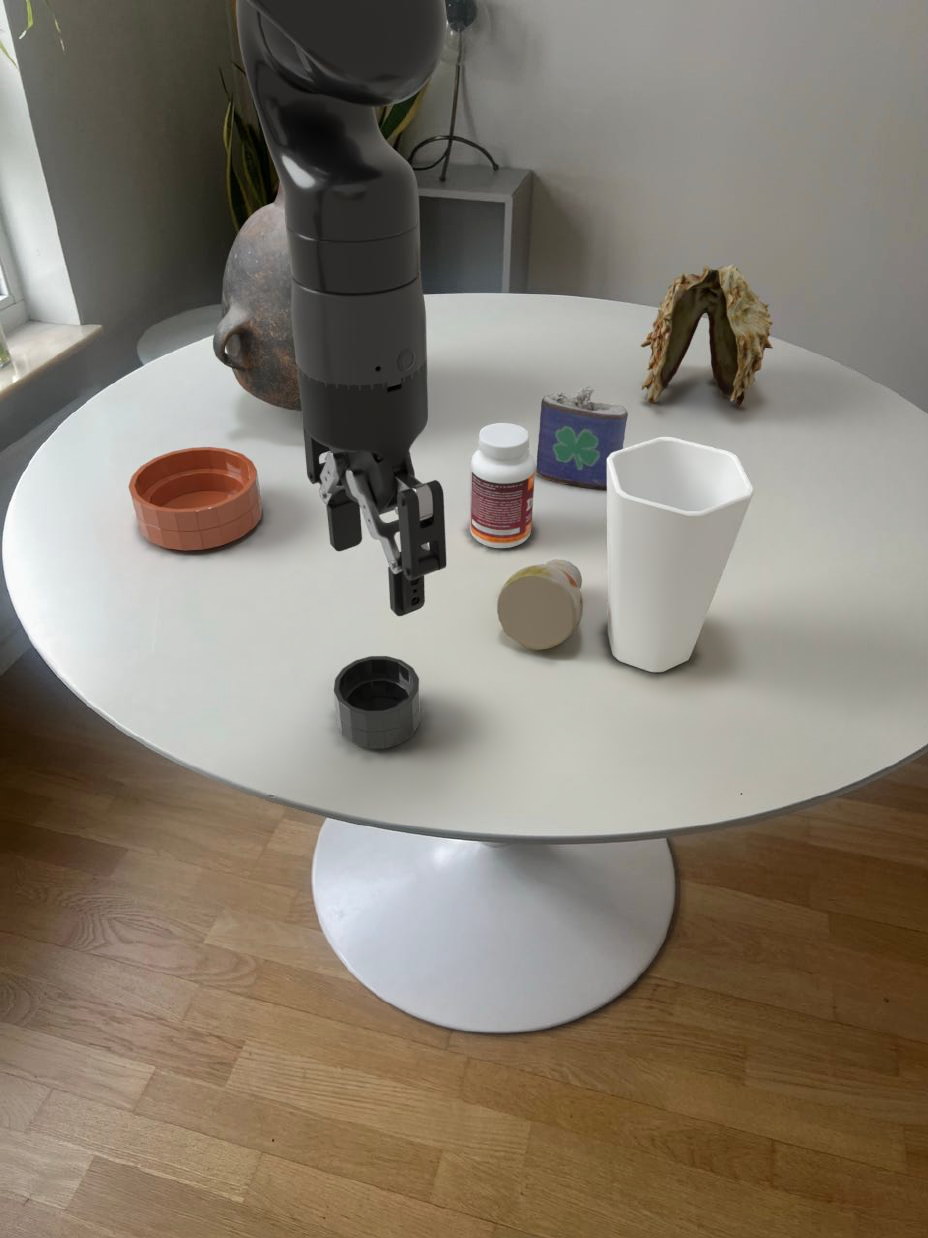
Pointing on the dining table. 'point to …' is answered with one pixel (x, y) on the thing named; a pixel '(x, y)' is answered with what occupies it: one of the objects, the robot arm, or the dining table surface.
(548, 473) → the flask
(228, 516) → the terracotta bowl
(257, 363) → the jug
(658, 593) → the cup
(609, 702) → the dining table surface
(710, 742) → the dining table surface
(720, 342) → the seashell
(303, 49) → the robot arm
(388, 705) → the black bowl
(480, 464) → the pill bottle
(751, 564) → the dining table surface
